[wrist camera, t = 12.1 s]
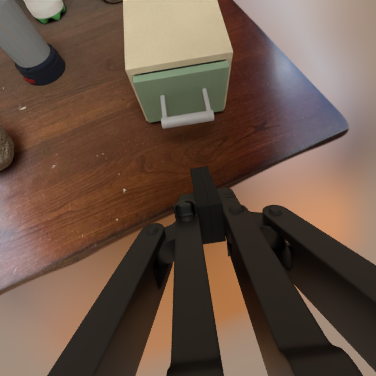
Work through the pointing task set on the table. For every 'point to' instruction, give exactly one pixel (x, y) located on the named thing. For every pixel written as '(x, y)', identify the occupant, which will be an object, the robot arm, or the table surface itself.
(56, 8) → the cup
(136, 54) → the cabinet
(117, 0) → the can
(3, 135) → the decorative stone
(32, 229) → the table surface
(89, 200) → the table surface
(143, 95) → the drawer
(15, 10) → the humidifier
